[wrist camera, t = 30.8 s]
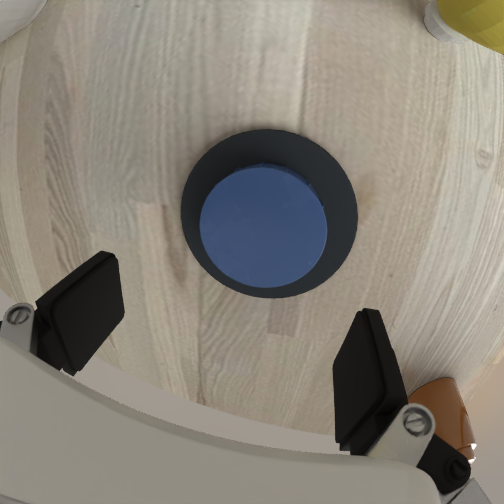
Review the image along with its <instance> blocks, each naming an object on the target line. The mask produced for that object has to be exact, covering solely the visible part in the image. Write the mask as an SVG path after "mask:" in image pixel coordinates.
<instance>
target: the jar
mask: <svg viewBox="0 0 504 504" xmlns="http://www.w3.org/2000/svg"><path fill="white" fill-rule="evenodd" d="M408 403H409V404H411V403H417V404H421V405H423V406H425V407H426V408H427V409H429V410H430V411H431V413H432V414H433V416H434V418H435V422H436V428H435V431H434V433H435V434H436V435H437V436H439V437H440V438H441V439H443V440H444V441H445V442H447V443H448V444H449V445H451V446H452V447H453V448H455V449H456V450H457V451H459V452H460V453H461V454H463V455H464V456H465V457H466V458H467V459H468V461H469V463H470V465H471V464H472V463H473V462H474V461H475V458H476V456H474V452H473V449H474V448H475V447H476V445H477V444H476V441H475V437H474V434H473V430H472V427H471V424H470V421H469V418H468V415H467V412H466V409H465V406H464V403H463V400H462V398H461V395H460V392H459V390H458V387H457V384H456V382H455V380H454V379H452V378H441V379H437V380H434V381H432V382H430V383H427V384H426V385H424V386H422V387H420V388H419V389H418V390H416V391H415V392H414V393H413V394H412V395H411V396H410V397H409V398H408Z"/></svg>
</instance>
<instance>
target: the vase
mask: <svg viewBox="0 0 504 504" xmlns="http://www.w3.org/2000/svg"><path fill="white" fill-rule="evenodd" d="M46 2H47V0H0V42H2V41H4V40H5V39H7V38H9V37H10V36H12V35H13V34H15V33H16V32H17V31H20V30H22V29H24V28H26V27H27V26H28V25H29V24H30V23H31V22H32V21H33V20H34V19H35V18H36V16H37V15H38V14H39V13H40V11H41V10H42V8H43V7H44V5H45V4H46Z"/></svg>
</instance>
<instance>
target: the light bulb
mask: <svg viewBox="0 0 504 504" xmlns="http://www.w3.org/2000/svg"><path fill="white" fill-rule="evenodd" d="M424 23H425V25H426V28H427V29H428V30H429V32H430V33H431V34H432V35H433V36H434V37H436V38H437V39H439V40H441V41H446V42H448V41H449V42H451V43H455V44H459V43H462V42H465V41H467V40H470V39H471V40H473V41H474V42H476V43H478V44H480V45H482V46H485V47H487V48H489V49H492V50H494V51H496V52H499V53H501V54H503V55H504V0H431V1H430V2H429V3H428V4H427V5H426V7H425V15H424Z"/></svg>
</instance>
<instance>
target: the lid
mask: <svg viewBox="0 0 504 504" xmlns="http://www.w3.org/2000/svg"><path fill="white" fill-rule="evenodd" d="M323 208H324V205H323V202H322V200H320V199H319V196H318V195H317V193H316V191H315V189H314V188H313V187H312V186H311V184H310V182H309V180H306V179H305V178H304V177H302V176H301V175H300V174H298V173H297V172H295V171H293V170H291V169H289V167H288V166H287V167H284V166H281V165H277V164H270V163H264V162H262V163H259V164H252V165H248V166H245V167H242V168H241V167H239V168H237V169H236V170H234V172H233V173H231V174H230V175H228V176H227V177H226V178H224V179H223V180H221V181H220V182H218V183H217V184H216V185H215V187H214V188H213V189H212V190H211V192H210V193H209V195H208V196H207V198H206V200H205V202H204V204H203V207H202V211H201V215H200V235H201V239H202V243H203V245H204V248H205V250H206V252H207V254H208V256H209V257H210V259H211V260H212V262H213V263H214V264H215V265H216V266H217V267H218V268H219V269H220V270H221V271H222V272H223V273H224V274H226V275H227V276H229V277H230V278H232V279H234V280H236V281H238V282H240V283H243V284H246V285H249V286H254V287H261V288H271V287H279V286H283V285H286V284H290V283H292V282H294V281H296V280H298V279H299V278H301V277H303V276H304V275H305V274H307V273H308V272H309V271H310V270H311V269H312V268H313V267H314V266H315V264H316V263H317V261H318V260H319V258H320V256H321V255H322V253H323V250H324V247H325V243H326V239H327V232H328V229H327V221H326V217H325V213H324V210H323Z"/></svg>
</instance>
